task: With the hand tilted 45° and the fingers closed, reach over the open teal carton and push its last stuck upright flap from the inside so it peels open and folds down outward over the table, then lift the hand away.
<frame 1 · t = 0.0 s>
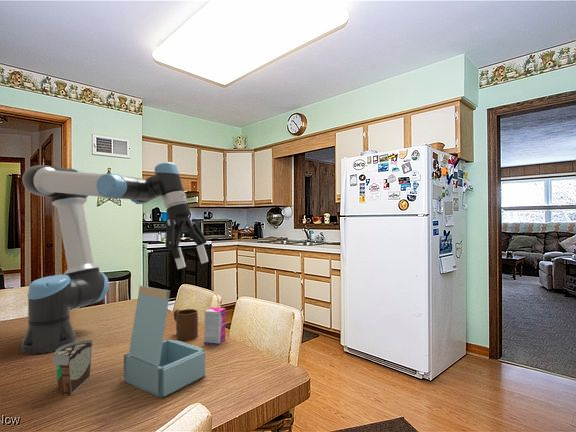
hand: (194, 265, 113), 28 cm above the table, tool tilted 20°, fingers open, 13 cm apart
food container: (68, 386, 87), on the table
carton: (165, 378, 91), on the table
supplement box: (215, 342, 118), on the table
mug: (183, 336, 124), on the table
flap: (149, 323, 87), point 16 cm above the table, hinge at -10.0°
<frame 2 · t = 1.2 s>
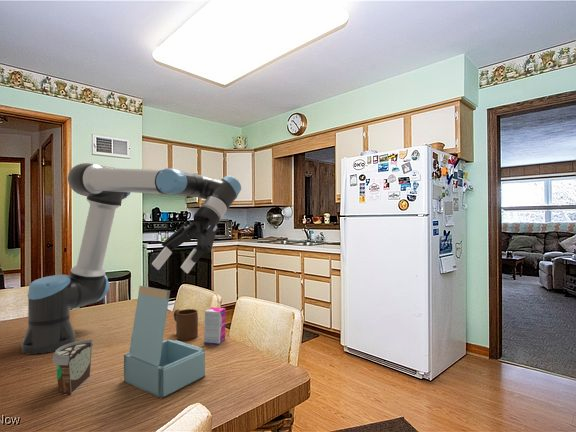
hand: (169, 268, 92), 30 cm above the table, tool tilted 45°, fingers open, 12 cm apart
nothing on the table moved.
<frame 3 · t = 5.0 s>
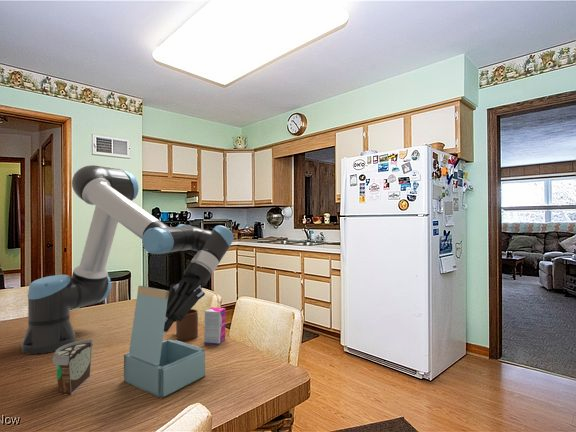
hand: (153, 341, 87), 11 cm above the table, tool tilted 45°, fingers closed
flap: (148, 323, 87), point 16 cm above the table, hinge at -8.8°, touching gripper
everything else where it was.
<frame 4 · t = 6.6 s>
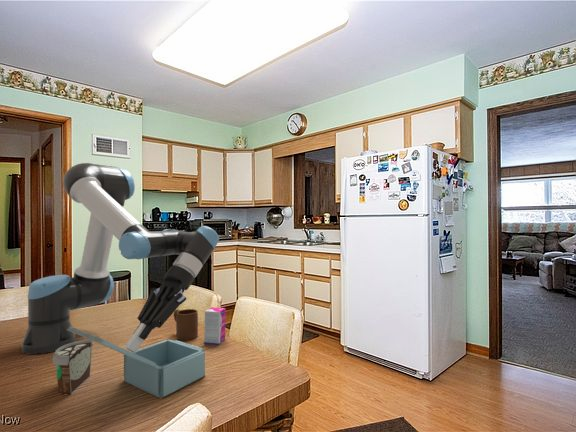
hand: (130, 349, 82), 11 cm above the table, tool tilted 45°, fingers closed
flap: (113, 347, 79), point 13 cm above the table, hinge at 53.1°, touching gripper
everything else where it was.
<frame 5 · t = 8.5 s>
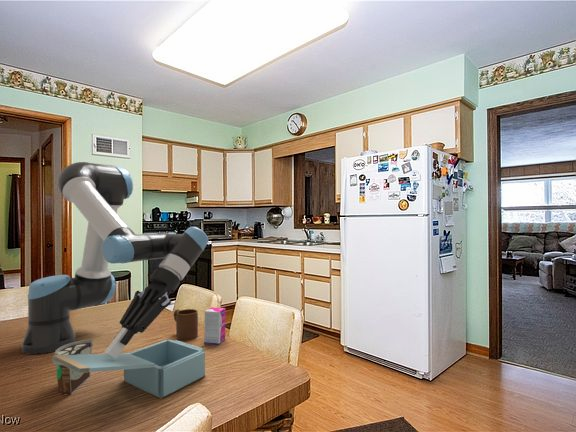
hand: (109, 355, 78), 11 cm above the table, tool tilted 45°, fingers closed
flap: (106, 361, 78), point 10 cm above the table, hinge at 73.1°, touching gripper
everything else where it was.
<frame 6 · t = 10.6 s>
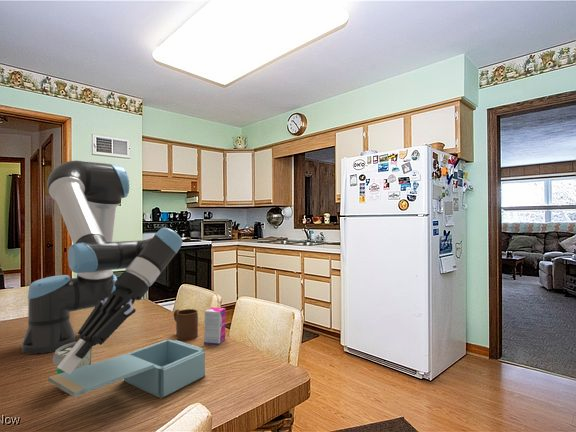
hand: (63, 370, 70), 12 cm above the table, tool tilted 45°, fingers closed
flap: (104, 372, 77), point 8 cm above the table, hinge at 87.1°
everything else where it was.
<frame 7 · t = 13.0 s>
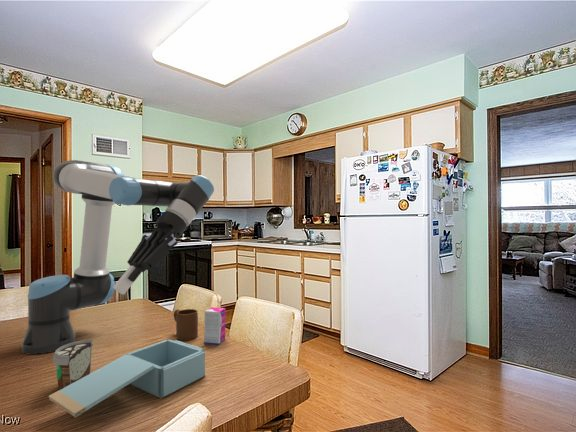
hand: (118, 291, 79), 26 cm above the table, tool tilted 45°, fingers closed
flap: (104, 381, 77), point 6 cm above the table, hinge at 100.1°
everything else where it was.
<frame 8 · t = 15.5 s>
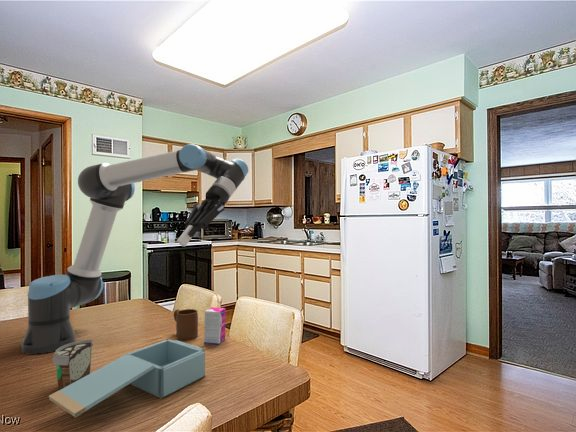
hand: (181, 243, 102), 36 cm above the table, tool tilted 45°, fingers closed
nothing on the table moved.
at the end: flap at +100° (first picture: -10°) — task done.
